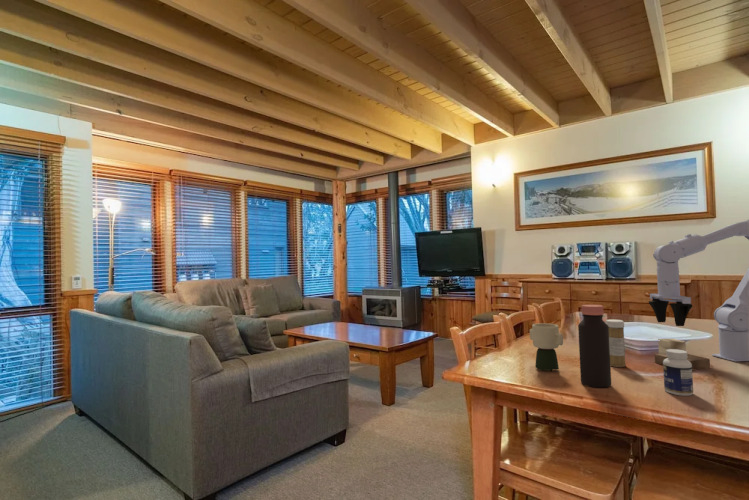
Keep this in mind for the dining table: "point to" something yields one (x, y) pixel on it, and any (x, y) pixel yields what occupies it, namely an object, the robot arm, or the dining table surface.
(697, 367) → the walnut block
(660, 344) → the maple cube
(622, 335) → the sprinkles bottle
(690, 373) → the pill bottle
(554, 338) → the character mug
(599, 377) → the vinegar
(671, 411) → the dining table surface
